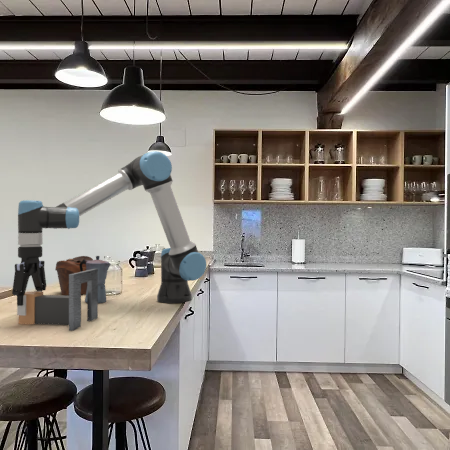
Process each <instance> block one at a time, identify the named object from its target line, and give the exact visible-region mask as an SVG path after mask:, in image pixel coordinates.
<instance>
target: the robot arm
mask: <svg viewBox="0 0 450 450" xmlns="http://www.w3.org/2000/svg"><path fill="white" fill-rule="evenodd" d="M172 170H173V167H172V163H171V160H170V158H169V157H168V155H166V154H165V153H163V152H160V151H157V150H155V151H153V150H152V151H149V152H148V151H147V152H146V153H143V154H142V155H140V156H138V157H135V159H133V160H131V162H129V163H127V164H126V165H125V166H123V167H121V168H120V169H118V172H117V173H115V174H113V175H111V176H110V177H108V178H106V179H105V180H103V181H100V182H98V183H97V184H95V185H93V186H92V187H89V188H88V189H85V190H84V191H82V192H80V193H79V194H77V195H74V196H73V197H71V198H69V199H68V200H67V199H66V200H65V201H64V202H62V203H60V204H58V205H57V206H44V205H43V202H42V200H34V199H33V200H32V199H31V200H30V199H26V200H25V199H24V200H21V201H20V202H18V208H17V209H18V210H17V232H18V235H17V240H18V241H17V242H18V243H17V245H18V247H17V257H18V258H20V263H15V264H14V277H13V283H12V292H11V295H13V296H16V308H17V309H16V315H17V316H19V315H24V316H25V315H26V295H25V292H27V291H26V290H27V288H28V283H29V280H30V277H31V280H32V282H33V285H34V289H35V290H33V292H43V291H46V290H47V280H46V278H47V277H46V270H45V260H40V259H39V258H41V257H43V246H42V245H43V244H44V243H43V229H54V230H55V229H56V230H57V229H68V230H69V229H76V228H78V227H79V225H80V217H81V216H83V215H84V214H86V213H88V212H90V211H92V210H93V209H95V208H97V207H99V206H100V205H103V204H104V203H106V202H107V201H109V200H111V199H112V198H115V197H116V196H118V195H120V194H122V193H124V192H125V191H127V190H128V191H132V190H134V189H135V188H138V187H140V186H143V189H144V191H146V192H147V193H149V194H150V196H151V199H152V201H153V204H154V208H155V209H156V210H155V211H156V213H157V215H158V218H159V220H160V224H161V226H162V228H163V231H164V234H165V237H166V239H167V242H168V245H169V247H168V248H164V249H162V250H161V252H160V253H161V255H160V267H161V269H160V271H161V273H160V274H161V275H160V277H161V278H160V279H161V280H160V281H161V282H160V286H159V289H158V293H157V296H156V298H157V299H156V302H159V303H163V304H181V303H188V302H191V301H192V297H193V295H192V292H191V289H190V286H189V282H190V281H197V280H199V279H201V278H202V276H204V274H205V272H206V270H207V259H206V258H205V256H204V255H203V254H202V253H200V252H199V249H198V247H197V244H196V243H195V242H192V241H191V239H190V236H189V234H188V231H187V228H186V226H185V225H186V224H185V222H184V219H183V217H182V214H181V211H180V209H179V206H178V203H177V200H176V198H175V195H174V192H173V188H172V185H173V181H174V180H173V179H172V175H171V174H172Z"/></svg>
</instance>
